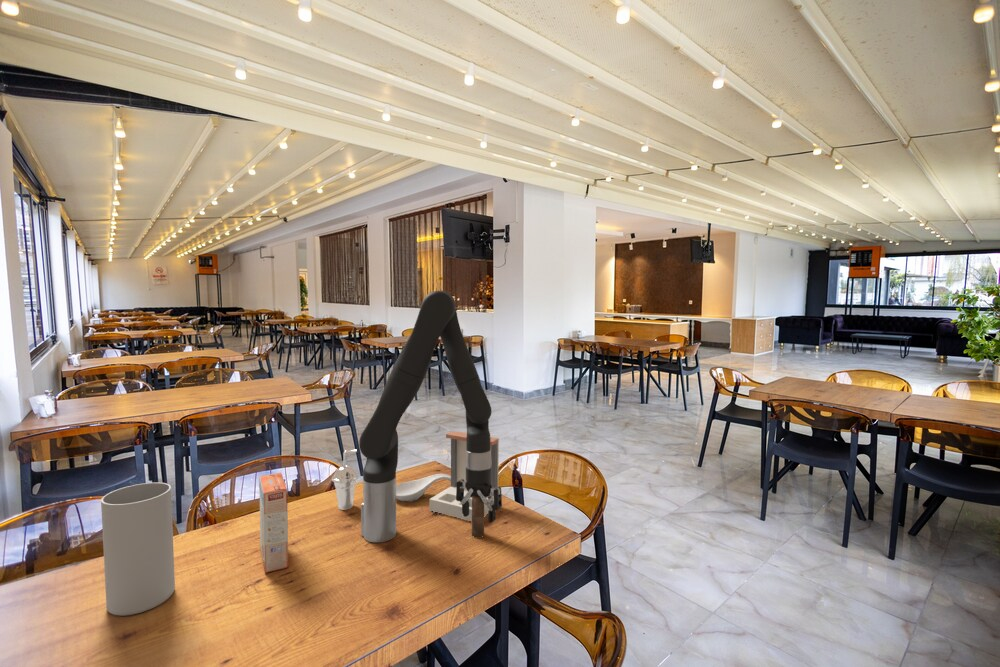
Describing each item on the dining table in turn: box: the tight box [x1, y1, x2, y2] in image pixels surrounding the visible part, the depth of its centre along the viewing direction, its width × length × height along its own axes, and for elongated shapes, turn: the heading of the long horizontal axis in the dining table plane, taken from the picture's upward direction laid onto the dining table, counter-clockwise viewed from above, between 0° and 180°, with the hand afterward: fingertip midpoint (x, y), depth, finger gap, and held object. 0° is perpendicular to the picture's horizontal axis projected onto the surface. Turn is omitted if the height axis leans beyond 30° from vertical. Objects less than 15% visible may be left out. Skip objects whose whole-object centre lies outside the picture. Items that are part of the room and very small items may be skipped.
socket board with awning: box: [428, 430, 500, 522], centre depth 157 cm, size 18×14×23 cm
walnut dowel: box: [471, 496, 485, 538], centre depth 140 cm, size 4×4×12 cm
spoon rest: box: [396, 473, 451, 502], centre depth 168 cm, size 24×12×7 cm, turn 109°
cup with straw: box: [331, 449, 360, 511], centre depth 157 cm, size 8×9×20 cm
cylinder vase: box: [100, 482, 176, 617], centre depth 108 cm, size 12×12×25 cm
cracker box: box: [258, 472, 289, 574], centre depth 126 cm, size 14×6×21 cm, turn 30°
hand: (478, 518), depth 140 cm, fingers open, 8 cm apart
